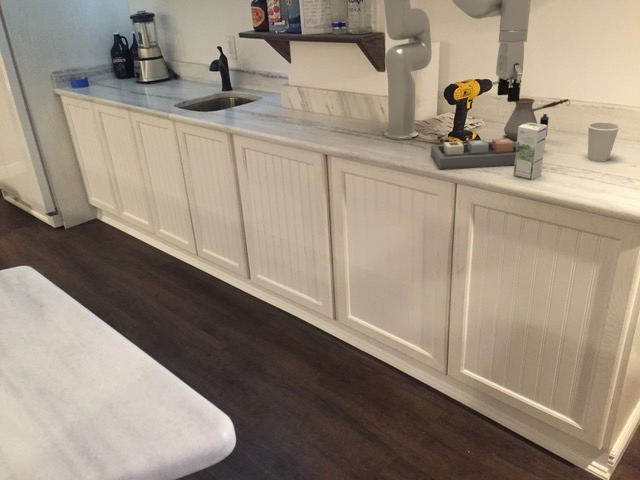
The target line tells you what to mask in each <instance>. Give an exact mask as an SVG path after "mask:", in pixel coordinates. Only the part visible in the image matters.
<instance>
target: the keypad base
mask: <svg viewBox="0 0 640 480" xmlns="http://www.w3.org/2000/svg"><path fill="white" fill-rule="evenodd" d="M511 141H512V142H513V143H514V146H513V151H499V152H496V151H495V150H494V149H493V148H492V141H486V142H487V143H488V144H489V148H488V152H482V153H471V152H470V151H469V149H468V142H466V143H465V142H463V143H462V144H463V146H464V152H463V154H449V155H447V154H446V153H445V151H444V144H433V145H431V146H430V147H431V148H430V157H431V158H432V160H433V161H434V164H435V165H436V166H437V168H438V170H439V171H445V170H446V171H447V170H460V169H463V170H464V169H478V168H495V167H511V166H513V167H515V156H516V146H517V142H516V141H515V140H511Z"/></svg>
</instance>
